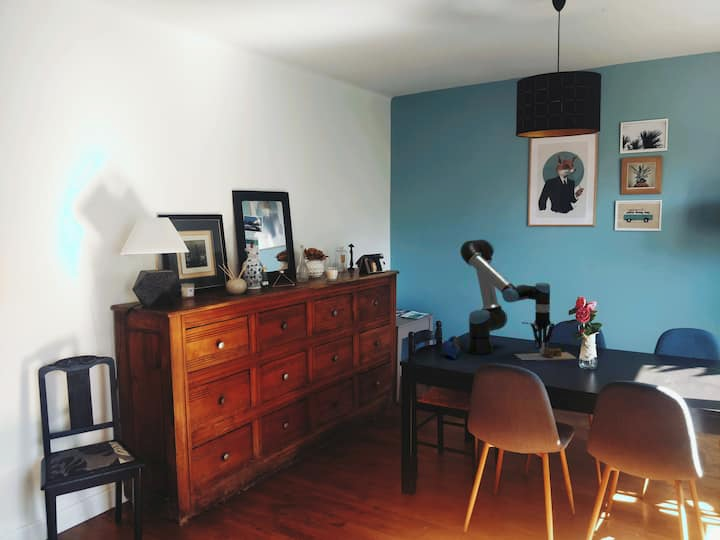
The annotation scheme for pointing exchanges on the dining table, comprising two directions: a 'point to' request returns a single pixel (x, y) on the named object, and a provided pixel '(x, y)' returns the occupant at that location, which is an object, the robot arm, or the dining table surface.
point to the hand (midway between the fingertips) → (542, 353)
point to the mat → (540, 357)
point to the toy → (451, 347)
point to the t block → (551, 353)
